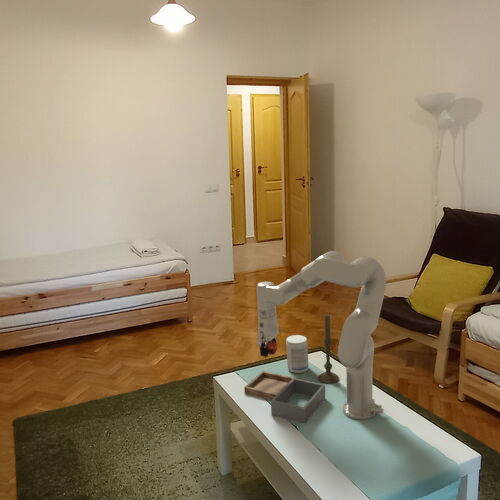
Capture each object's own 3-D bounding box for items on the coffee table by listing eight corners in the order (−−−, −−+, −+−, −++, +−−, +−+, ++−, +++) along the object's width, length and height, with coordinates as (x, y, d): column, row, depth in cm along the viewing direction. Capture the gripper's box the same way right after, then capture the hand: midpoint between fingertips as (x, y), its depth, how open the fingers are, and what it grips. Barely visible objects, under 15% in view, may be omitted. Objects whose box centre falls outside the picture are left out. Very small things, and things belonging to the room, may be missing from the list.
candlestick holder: (326, 371, 216) (325, 308, 210) (343, 378, 209) (342, 313, 203) (313, 379, 210) (311, 314, 204) (330, 386, 203) (329, 319, 197)
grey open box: (325, 398, 194) (325, 384, 193) (305, 424, 177) (304, 409, 176) (293, 391, 201) (293, 377, 200) (271, 415, 184) (270, 400, 183)
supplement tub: (312, 368, 220) (311, 338, 217) (299, 375, 214) (298, 345, 210) (296, 362, 227) (295, 333, 224) (283, 369, 221) (281, 339, 217)
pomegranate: (276, 363, 198) (282, 342, 203) (268, 354, 193) (275, 333, 198) (260, 362, 201) (267, 341, 207) (253, 353, 197) (260, 332, 202)
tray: (295, 383, 207) (295, 378, 206) (278, 401, 194) (278, 395, 193) (263, 376, 215) (262, 371, 214) (244, 392, 202) (244, 387, 201)
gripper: (264, 320, 188) (266, 362, 192) (284, 306, 202) (286, 346, 206) (248, 317, 191) (250, 359, 195) (268, 304, 206) (270, 343, 210)
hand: (268, 352), depth 201 cm, fingers closed on pomegranate, 7 cm apart
